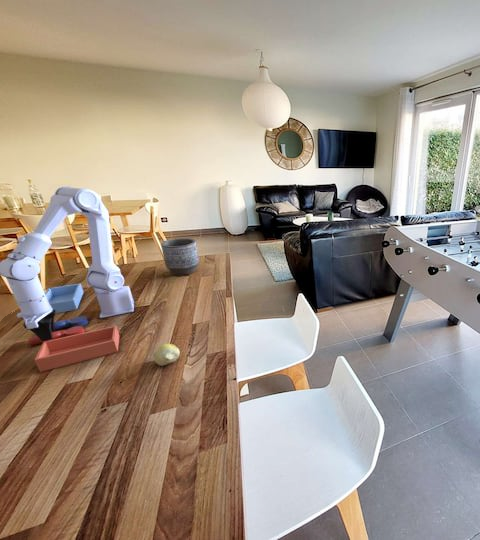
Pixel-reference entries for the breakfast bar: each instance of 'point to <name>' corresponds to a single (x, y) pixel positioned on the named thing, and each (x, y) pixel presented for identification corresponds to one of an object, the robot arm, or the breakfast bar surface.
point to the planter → (180, 255)
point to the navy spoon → (71, 323)
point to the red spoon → (58, 334)
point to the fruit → (166, 354)
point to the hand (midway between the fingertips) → (48, 337)
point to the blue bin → (64, 297)
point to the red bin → (77, 348)
